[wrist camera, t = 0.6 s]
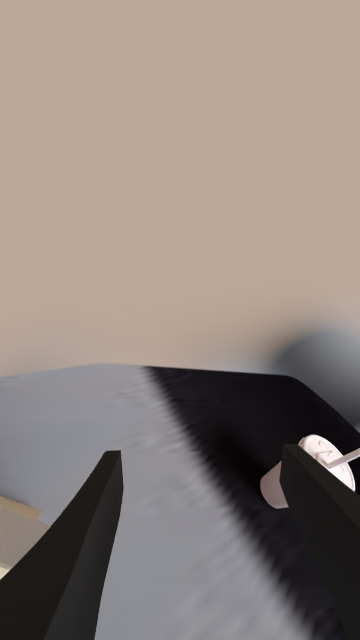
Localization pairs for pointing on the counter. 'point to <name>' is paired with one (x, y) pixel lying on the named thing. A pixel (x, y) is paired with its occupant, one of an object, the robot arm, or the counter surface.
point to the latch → (17, 537)
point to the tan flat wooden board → (21, 510)
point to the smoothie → (324, 455)
